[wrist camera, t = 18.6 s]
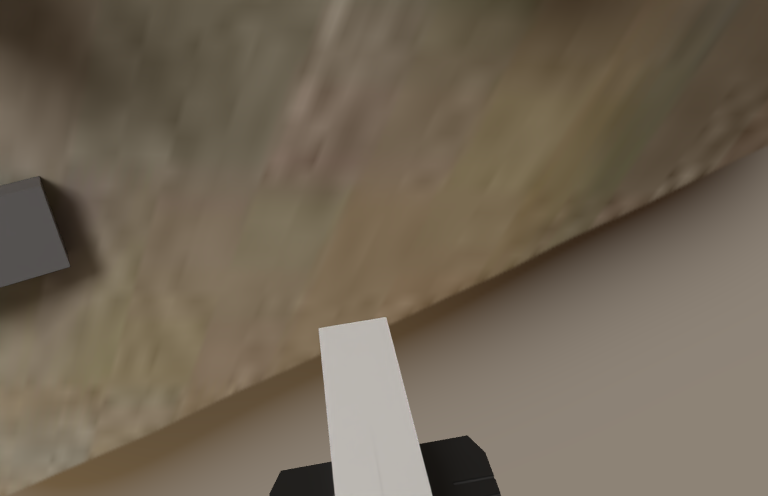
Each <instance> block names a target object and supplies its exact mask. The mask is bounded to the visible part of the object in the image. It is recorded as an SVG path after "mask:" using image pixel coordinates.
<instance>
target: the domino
mask: <svg viewBox="0 0 768 496" xmlns="http://www.w3.org/2000/svg"><path fill="white" fill-rule="evenodd" d="M68 267H70V263H69V259H68V254H67V252H66V249H65V246H64V243H63V240H62V238H61V235H60V232H59V229H58V227H57V224H56V221H55V218H54V216H53V213H52V210H51V207H50V205H49V202H48V199H47V196H46V194H45V191H44V188H43V185H42V183H41V180H40V177H39V176H38V177H34V178H30V179H26V180H22V181H18V182H14V183H10V184H6V185H2V186H0V287H4V286H7V285H10V284H14V283H17V282H20V281H24V280H27V279H31V278H34V277H37V276H41V275H44V274H47V273H51V272H54V271H58V270H61V269H64V268H68Z"/></svg>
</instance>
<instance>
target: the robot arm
mask: <svg viewBox="0 0 768 496" xmlns="http://www.w3.org/2000/svg"><path fill="white" fill-rule="evenodd" d="M319 337H320V347H321V358H322V368H323V378H324V387H325V398H326V409H327V419H328V428H329V440H330V449H331V460H332V462H327V463H322V464H316V465H311V466H306V467H299V468H294V469H288V470H283V471H281V472H280V474H279V476H278V478H277V480H276V482H275V484H274V486H273V488H272V490H271V492H270V496H501V495H500V491H499V488H498V485H497V483H496V480H495V479H494V475H493V472H492V469H491V467H490V464H489V461H488V459H487V456H486V453H485V452H484V451H483V450H482V449H481V448H480V447H479V446H478V445H477V444H476V443H475V442H474V441H473V440H472V439H470V438H469V437H468V436H462V437H456V438H450V439H445V440H440V441H434V442H428V443H423V444H419V442H418V438H417V434H416V431H415V427H414V423H413V419H412V415H411V411H410V407H409V403H408V400H407V396H406V392H405V388H404V384H403V380H402V377H401V373H400V369H399V365H398V361H397V358H396V353H395V349H394V346H393V342H392V338H391V334H390V330H389V326H388V323H387V319H386V317H384V318H378V319H372V320H366V321H360V322H354V323H348V324H342V325H336V326H330V327H324V328H319Z"/></svg>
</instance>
